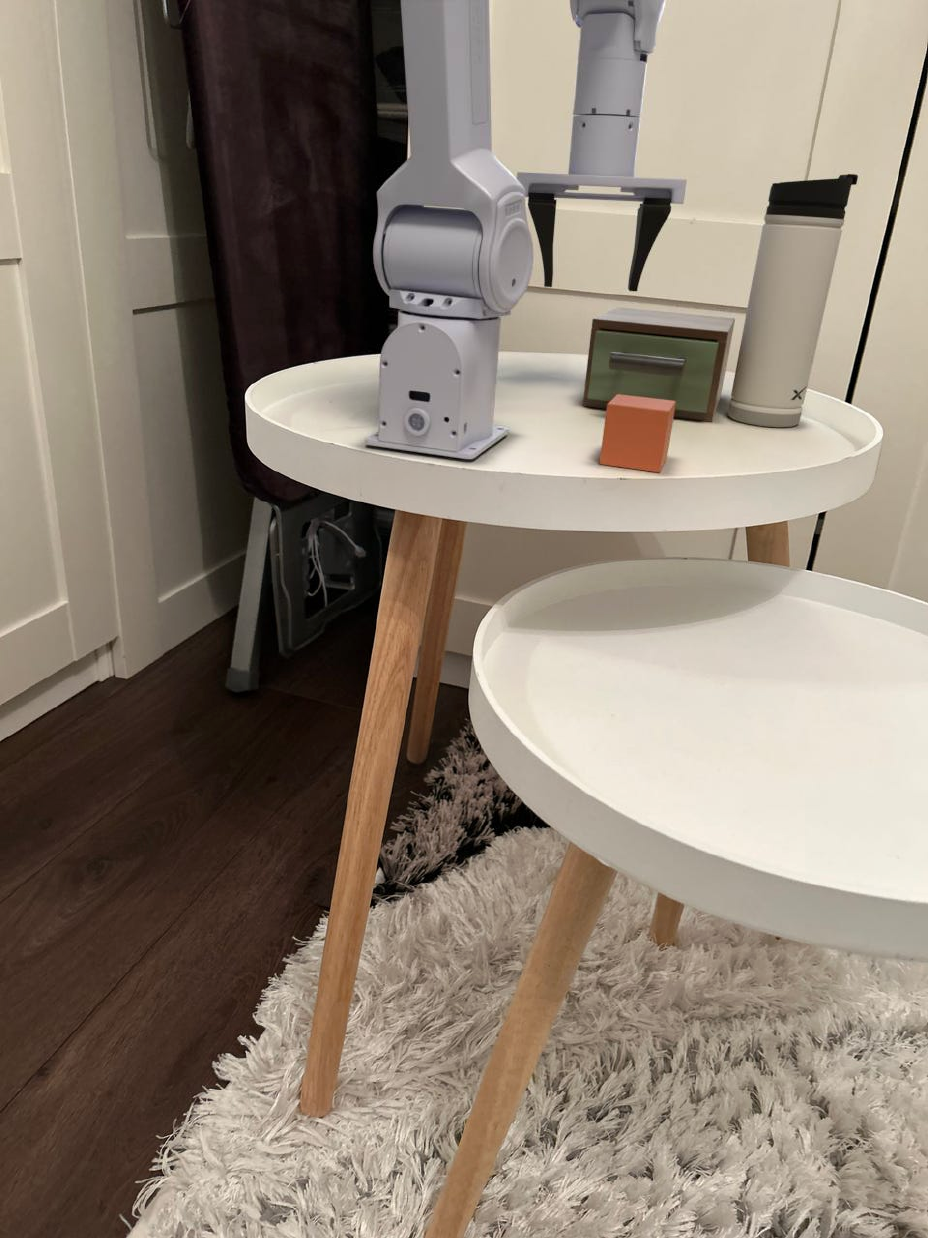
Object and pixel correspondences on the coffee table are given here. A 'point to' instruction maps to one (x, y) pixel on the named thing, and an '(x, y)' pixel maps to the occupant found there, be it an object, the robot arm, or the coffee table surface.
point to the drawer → (653, 368)
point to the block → (637, 432)
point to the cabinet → (669, 326)
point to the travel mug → (788, 299)
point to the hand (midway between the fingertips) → (590, 287)
